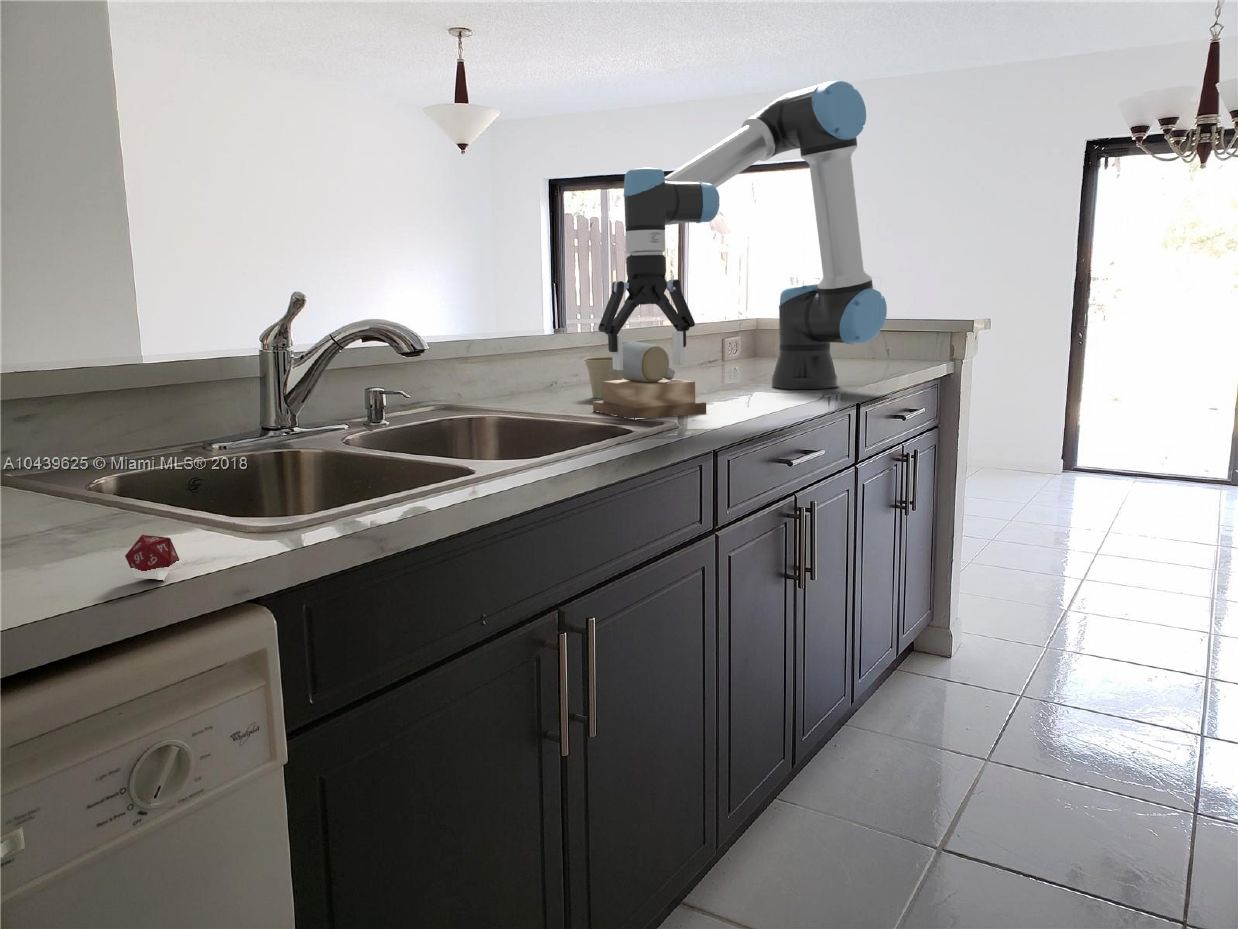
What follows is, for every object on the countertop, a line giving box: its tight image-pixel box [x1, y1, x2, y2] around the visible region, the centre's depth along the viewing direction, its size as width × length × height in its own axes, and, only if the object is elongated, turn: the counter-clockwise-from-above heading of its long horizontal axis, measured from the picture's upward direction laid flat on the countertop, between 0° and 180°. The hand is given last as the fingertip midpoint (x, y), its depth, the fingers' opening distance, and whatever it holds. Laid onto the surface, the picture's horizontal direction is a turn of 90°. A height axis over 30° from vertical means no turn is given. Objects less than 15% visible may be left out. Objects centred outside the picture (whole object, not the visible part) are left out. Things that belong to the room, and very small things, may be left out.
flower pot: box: [583, 356, 623, 399], centre depth 208 cm, size 9×9×9 cm
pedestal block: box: [602, 378, 696, 408], centre depth 182 cm, size 13×13×4 cm
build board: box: [592, 400, 707, 419], centre depth 182 cm, size 16×16×2 cm
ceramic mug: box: [618, 340, 676, 383], centre depth 181 cm, size 11×8×8 cm
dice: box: [124, 534, 180, 571], centre depth 82 cm, size 4×4×4 cm
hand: (648, 367), depth 181 cm, fingers open, 13 cm apart
